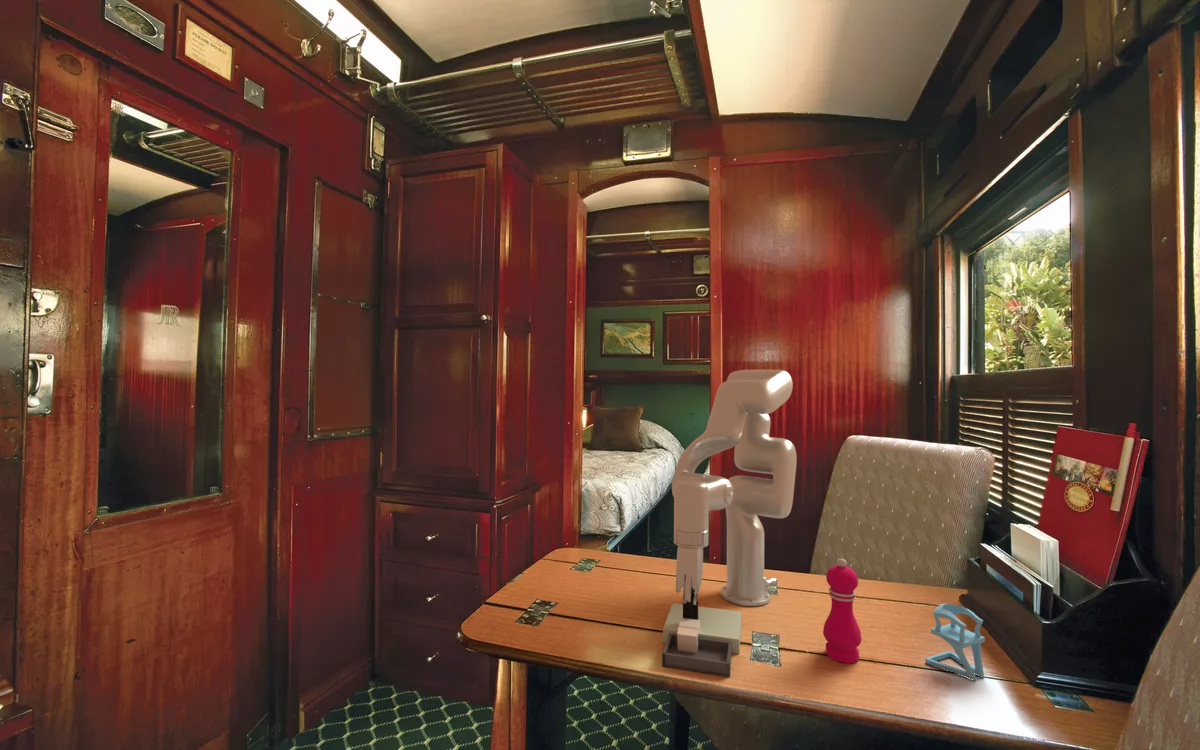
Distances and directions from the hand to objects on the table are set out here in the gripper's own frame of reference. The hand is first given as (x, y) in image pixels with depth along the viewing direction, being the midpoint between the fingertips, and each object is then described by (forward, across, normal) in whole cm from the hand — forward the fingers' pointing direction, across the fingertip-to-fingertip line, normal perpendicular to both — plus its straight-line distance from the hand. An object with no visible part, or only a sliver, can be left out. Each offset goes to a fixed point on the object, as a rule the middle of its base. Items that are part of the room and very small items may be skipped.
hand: (690, 620), depth 116 cm
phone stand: (+4, -4, +52) cm, 52 cm away
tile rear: (+1, +4, 0) cm, 4 cm away
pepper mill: (+4, -2, +31) cm, 31 cm away
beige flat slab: (+4, -3, +2) cm, 6 cm away
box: (+4, +9, +2) cm, 10 cm away
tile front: (+1, +6, 0) cm, 6 cm away
